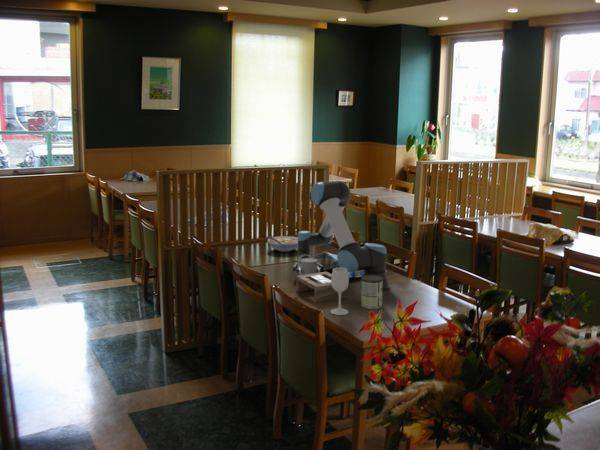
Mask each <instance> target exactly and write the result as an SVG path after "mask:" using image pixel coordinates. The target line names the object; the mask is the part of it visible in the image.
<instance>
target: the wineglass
mask: <svg viewBox="0 0 600 450" xmlns="http://www.w3.org/2000/svg"><path fill="white" fill-rule="evenodd" d="M331 274H332V277H331V284H332V287H333V289H334V290H335V291H337V292H338V294H339V299H338V307H337V308H333V309H331V310H330V311H329V312H330V314H332V315H334V314H335V315H336V316H345V315H348V314H349V313H350V312H349V310H348V309H345V308H342V302H341V301H342V298H341V293H342V292H343V291H345V290H346V289H347V287H348V288H349V282H350V279H349V278H350V277H349V272H348V270H347V269H346V268H342V267H340V266H338V267H334V268H332V273H331Z"/></svg>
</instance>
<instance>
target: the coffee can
mask: <svg viewBox="0 0 600 450" xmlns="http://www.w3.org/2000/svg"><path fill="white" fill-rule="evenodd" d="M361 279H362V288H361V296H360V299H361V300H360V302H361V303H360V306H361V307H362V308H365V309H369V310H370V309H371V310H375V309H380V308H382V307H383V290H382V282H383V277H381V276H378V275H365V276H363V275H362V276H361V278H360V280H361Z"/></svg>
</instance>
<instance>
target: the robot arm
mask: <svg viewBox="0 0 600 450" xmlns="http://www.w3.org/2000/svg"><path fill="white" fill-rule="evenodd" d="M351 196H352V195H351V190H350V187H349V185H348V184H347V183H345V182H344V181H342V180H333V181H331V180H330V181H320V182H315V183H314V184H313V186H312V187H311V191H310V199H311V202H312V203H313V204H315V205H318V206H319V209H320V210H322V211H324V213H325V217H324V220H323V221H322V224H321V226H320V227H319V230H318V232H315V233H311V231H308V230H301V231H298V232H297V238H298V247H297V254H296V256H297V257H296V259H297V262H294V265H293V267H292V271H293V272H295V273H297V274H298V276H299V275H301V269H300V259H303V258H312V257H311V247H319V246H320V247H321V246H326V245H330V244H332V243H333V239H334V238H335V240H336V242H337V244H338V247H339V249H338V251H337V252H338V253H337V256H336V258H337V260H336V261H337V264H338V267H342V268H346V269H347V270H348V273H355V272H360V271H363V274H362V276H365V275H378V276H381V277H383V282H382V291H386V290H388V289H389V288H390V283H389V279H388V276H387V255H388V253H387V247H386V246H385V245H383V244H379V243H372V242H369V243H367V242H366V243H365V244H364V246H363V247H361V246H360V243H359V242H358V241H355V239H354V237H353V234H352V232H351V229H350V228H349V225H348V222H347V220H346V218H345V215H344V213H343V211H344V209H345V207H347V206H349V203H350V200H351ZM333 235H334V236H333ZM322 271H323V272H324V265H323V264H321V263H320V262H319V261H317V273H320V272H322ZM360 288H361V289H362V279H361V278H360Z"/></svg>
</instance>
